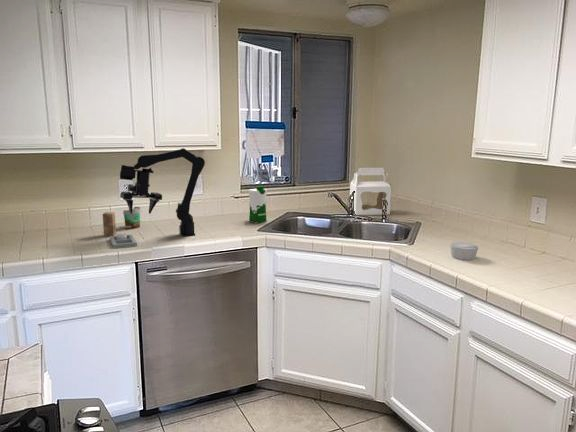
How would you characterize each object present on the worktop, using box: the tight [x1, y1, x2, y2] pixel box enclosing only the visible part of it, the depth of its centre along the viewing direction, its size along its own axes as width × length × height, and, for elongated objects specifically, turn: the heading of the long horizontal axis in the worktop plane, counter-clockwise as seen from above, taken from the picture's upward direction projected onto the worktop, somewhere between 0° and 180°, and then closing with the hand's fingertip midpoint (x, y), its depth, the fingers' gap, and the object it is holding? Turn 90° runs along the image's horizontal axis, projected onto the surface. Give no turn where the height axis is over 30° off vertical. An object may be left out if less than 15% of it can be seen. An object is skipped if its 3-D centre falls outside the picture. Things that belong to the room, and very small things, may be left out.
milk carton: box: [247, 185, 268, 223], centre depth 273 cm, size 9×9×20 cm
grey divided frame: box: [109, 233, 138, 249], centre depth 224 cm, size 10×18×3 cm, turn 25°
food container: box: [122, 206, 142, 230], centre depth 256 cm, size 12×6×10 cm, turn 168°
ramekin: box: [449, 241, 479, 261], centre depth 205 cm, size 11×11×5 cm
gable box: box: [349, 167, 392, 216], centre depth 300 cm, size 22×13×28 cm, turn 100°
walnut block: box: [102, 211, 117, 238], centre depth 237 cm, size 4×4×11 cm
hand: (140, 213), depth 235 cm, fingers open, 9 cm apart
